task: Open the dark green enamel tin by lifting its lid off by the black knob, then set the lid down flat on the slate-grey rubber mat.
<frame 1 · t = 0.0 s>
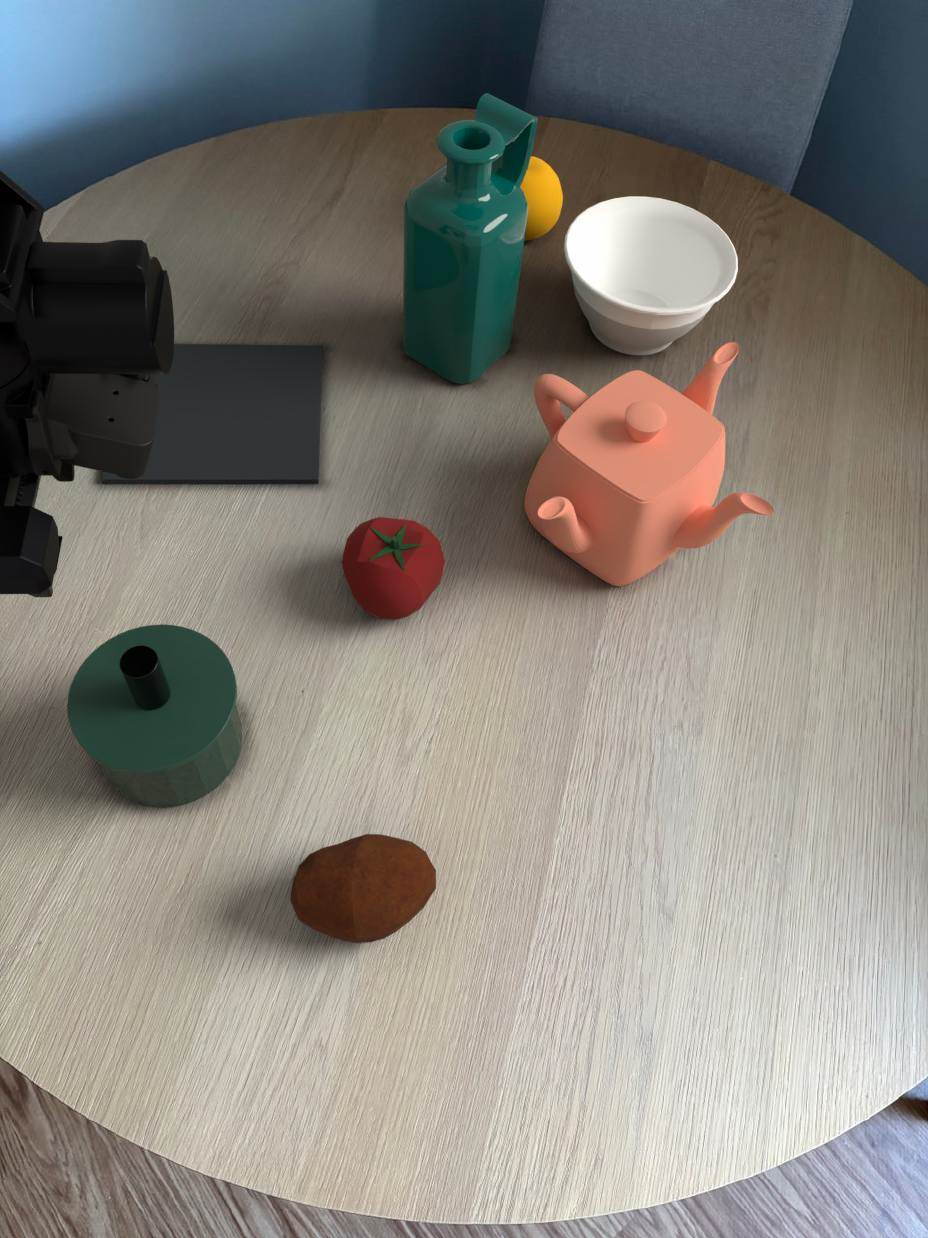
hand: (55, 535, 68), 15 cm above the table, tool pointing down, fingers open, 9 cm apart
mat: (218, 413, 93), on the table
tomato: (390, 592, 84), on the table
tin: (172, 742, 76), on the table
potato: (365, 901, 71), on the table
tin lid: (153, 698, 70), point 7 cm above the table, touching tin
pitcher: (460, 344, 100), on the table
bowl: (632, 324, 103), on the table
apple: (520, 228, 109), on the table
pot: (623, 521, 90), on the table
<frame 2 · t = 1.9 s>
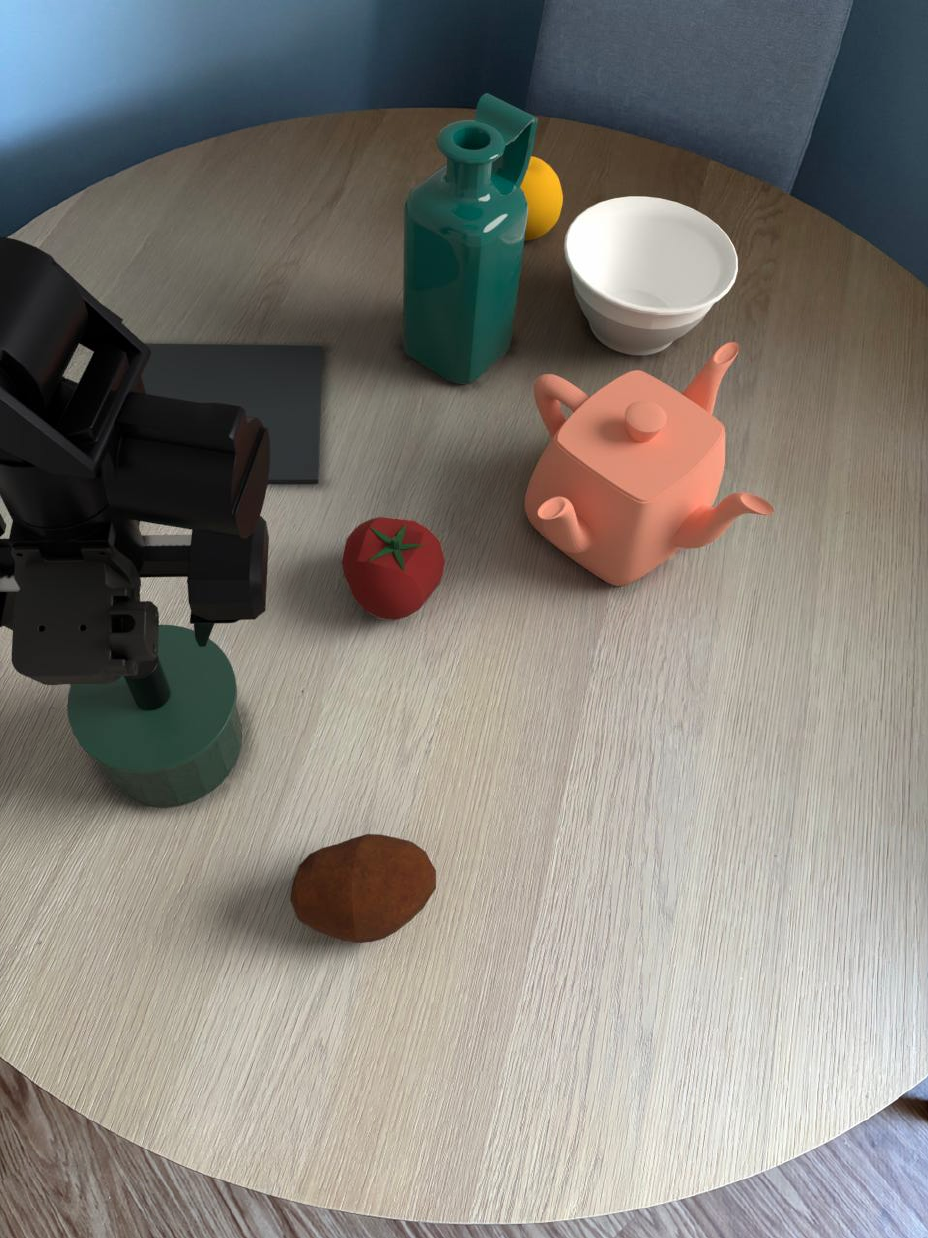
hand: (128, 641, 66), 13 cm above the table, tool pointing down, fingers open, 9 cm apart
nothing on the table moved.
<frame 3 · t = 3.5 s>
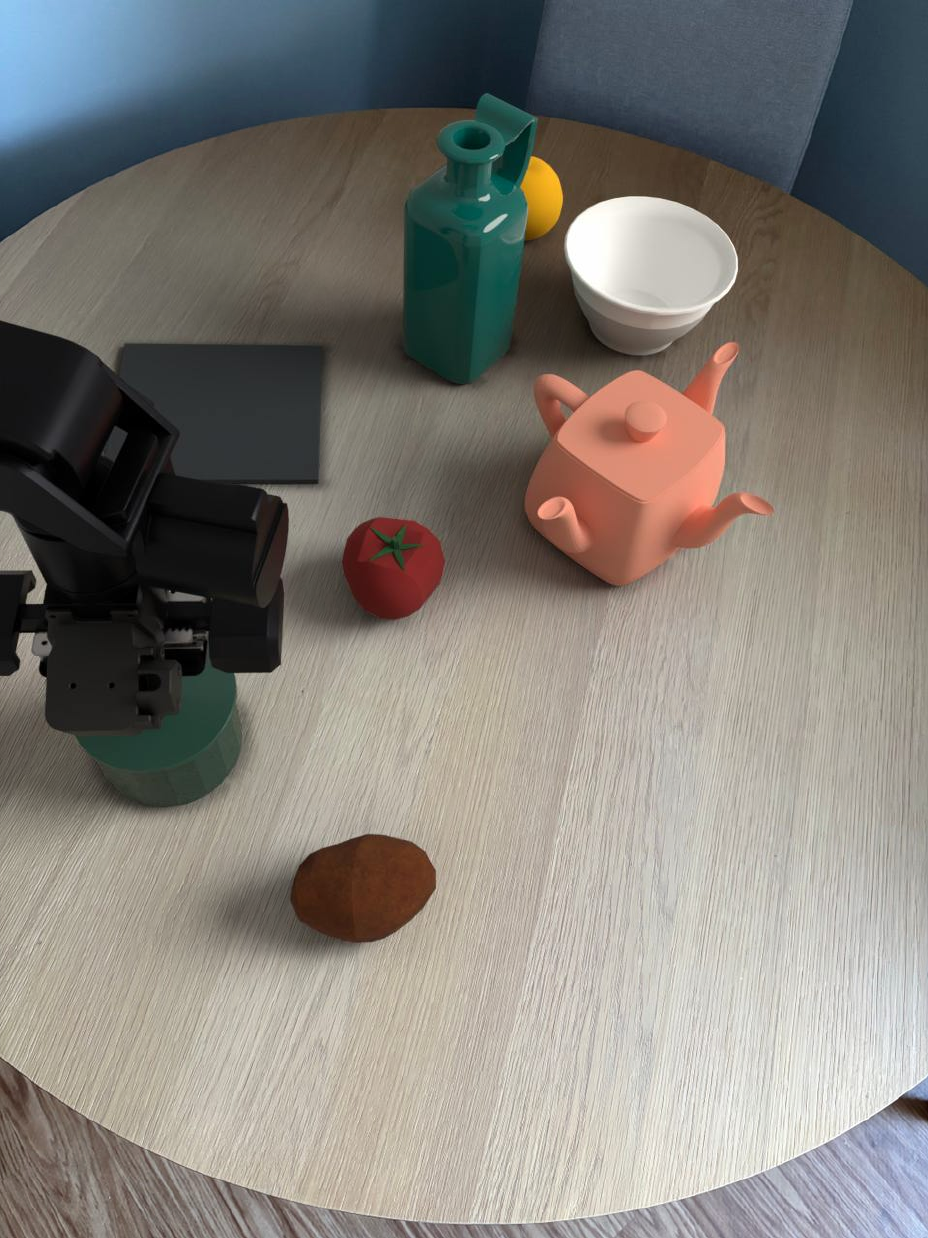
hand: (149, 687, 69), 9 cm above the table, tool pointing down, fingers closed on tin lid, 2 cm apart
tin lid: (153, 698, 70), point 7 cm above the table, touching gripper, tin
everything else where it was.
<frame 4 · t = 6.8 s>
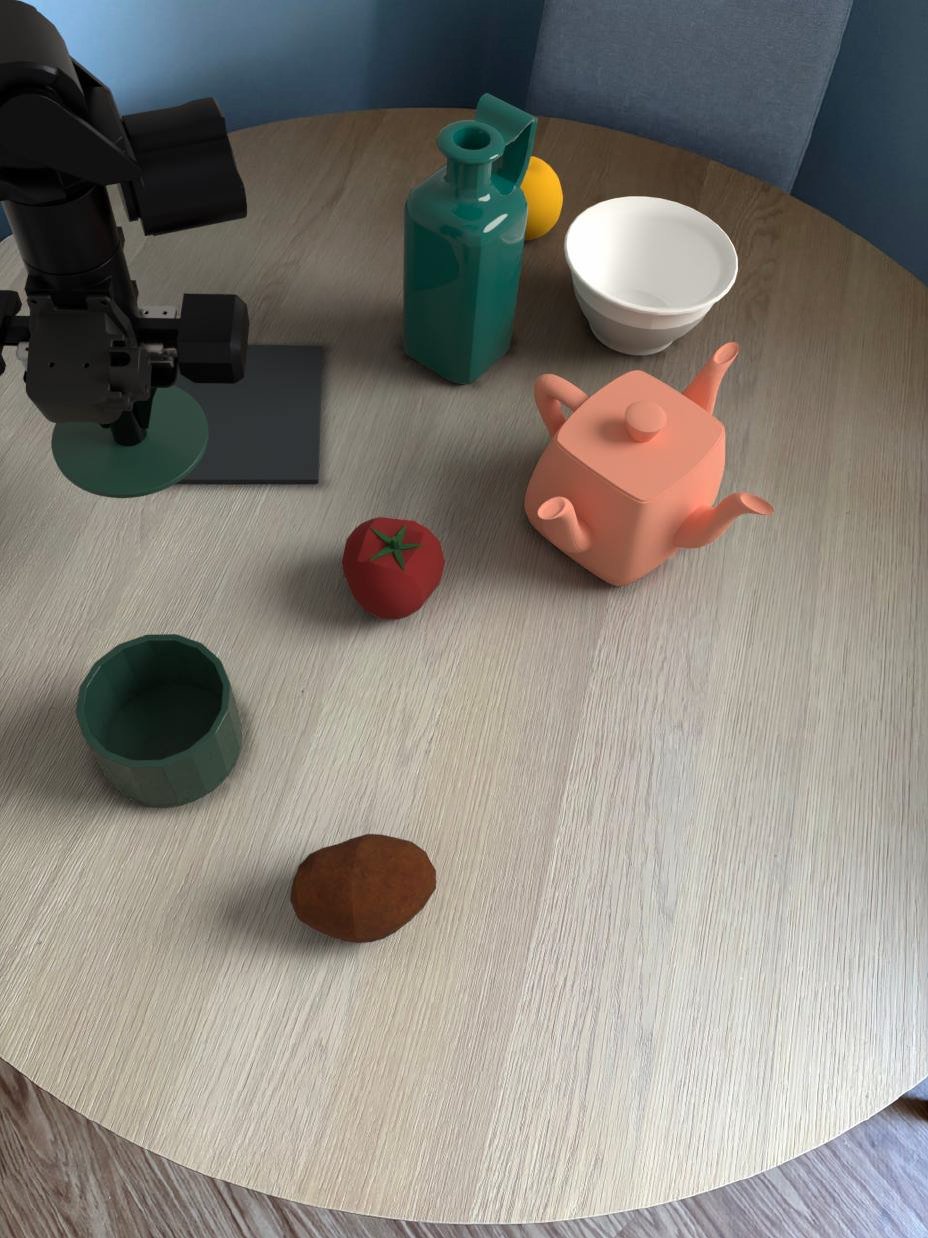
hand: (126, 424, 75), 13 cm above the table, tool pointing down, fingers closed on tin lid, 2 cm apart
tin lid: (131, 438, 76), point 12 cm above the table, touching gripper
everything else where it was.
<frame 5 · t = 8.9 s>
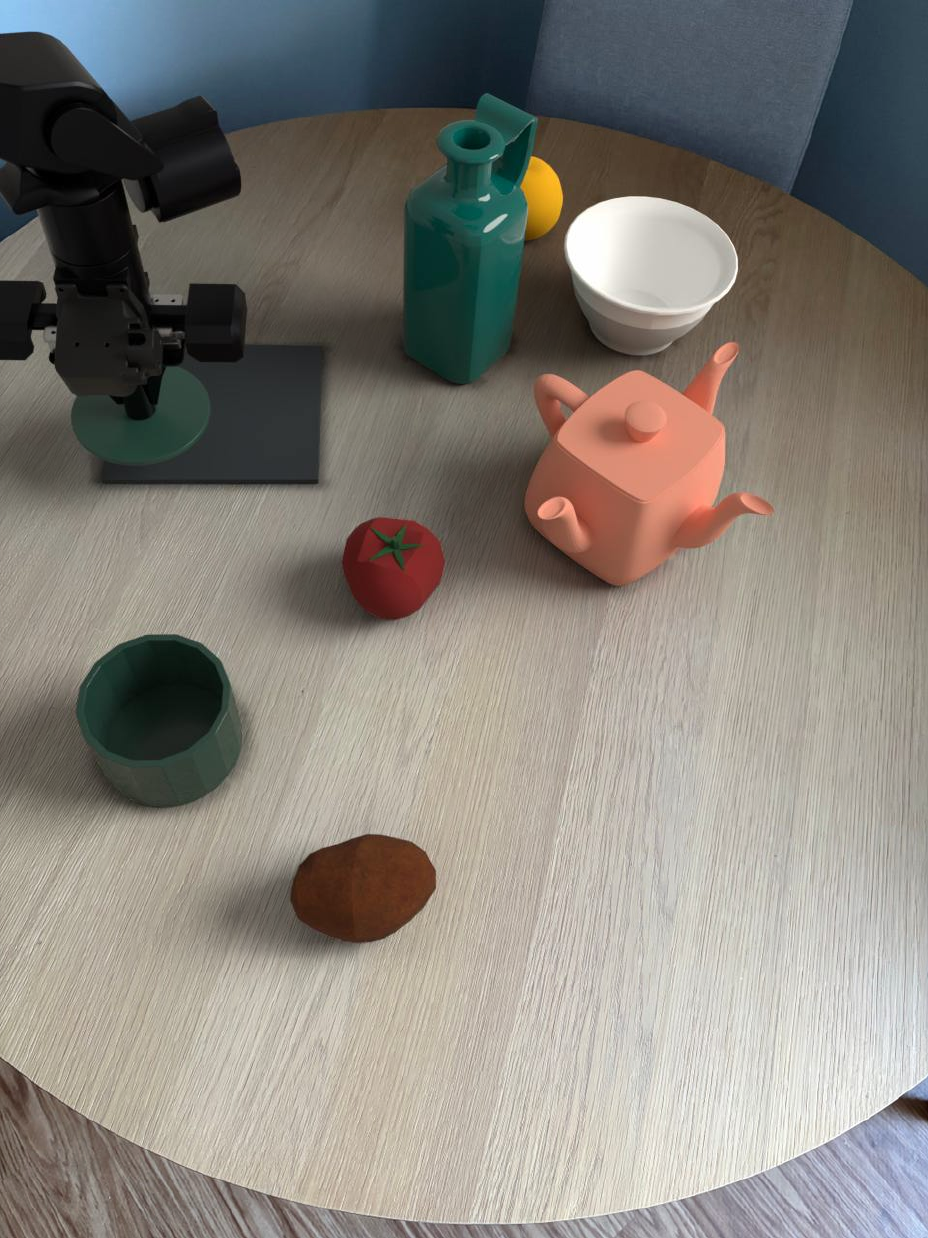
hand: (138, 400, 84), 7 cm above the table, tool pointing down, fingers closed on tin lid, 2 cm apart
tin lid: (142, 413, 85), point 5 cm above the table, touching gripper
everything else where it was.
when the fingers open (3 cm above the table, at t = 10.1 s): tin lid stays where it is, resting on mat.
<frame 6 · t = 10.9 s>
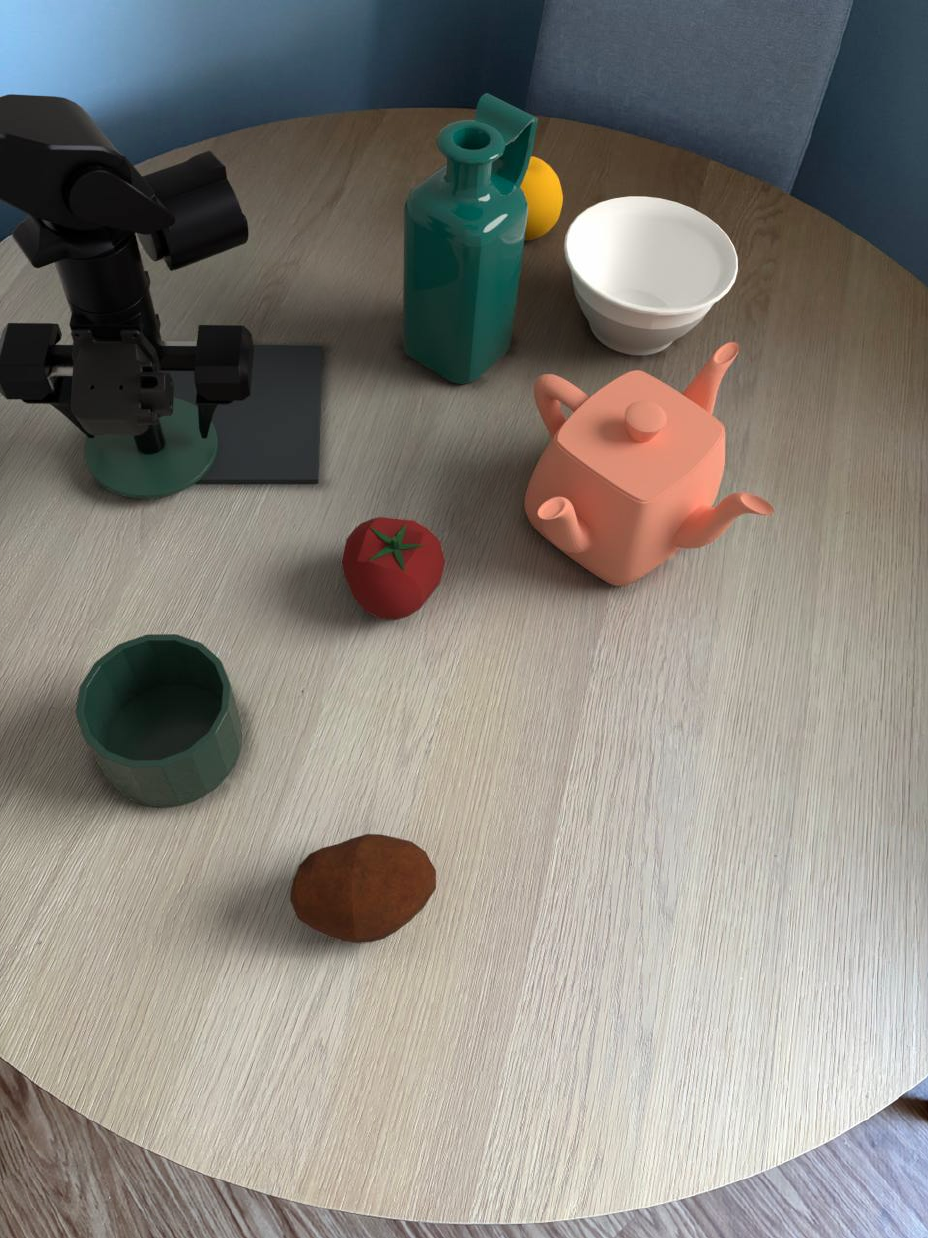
hand: (149, 434, 88), 3 cm above the table, tool pointing down, fingers open, 9 cm apart
tin lid: (152, 447, 89), point 1 cm above the table, touching mat
everything else where it was.
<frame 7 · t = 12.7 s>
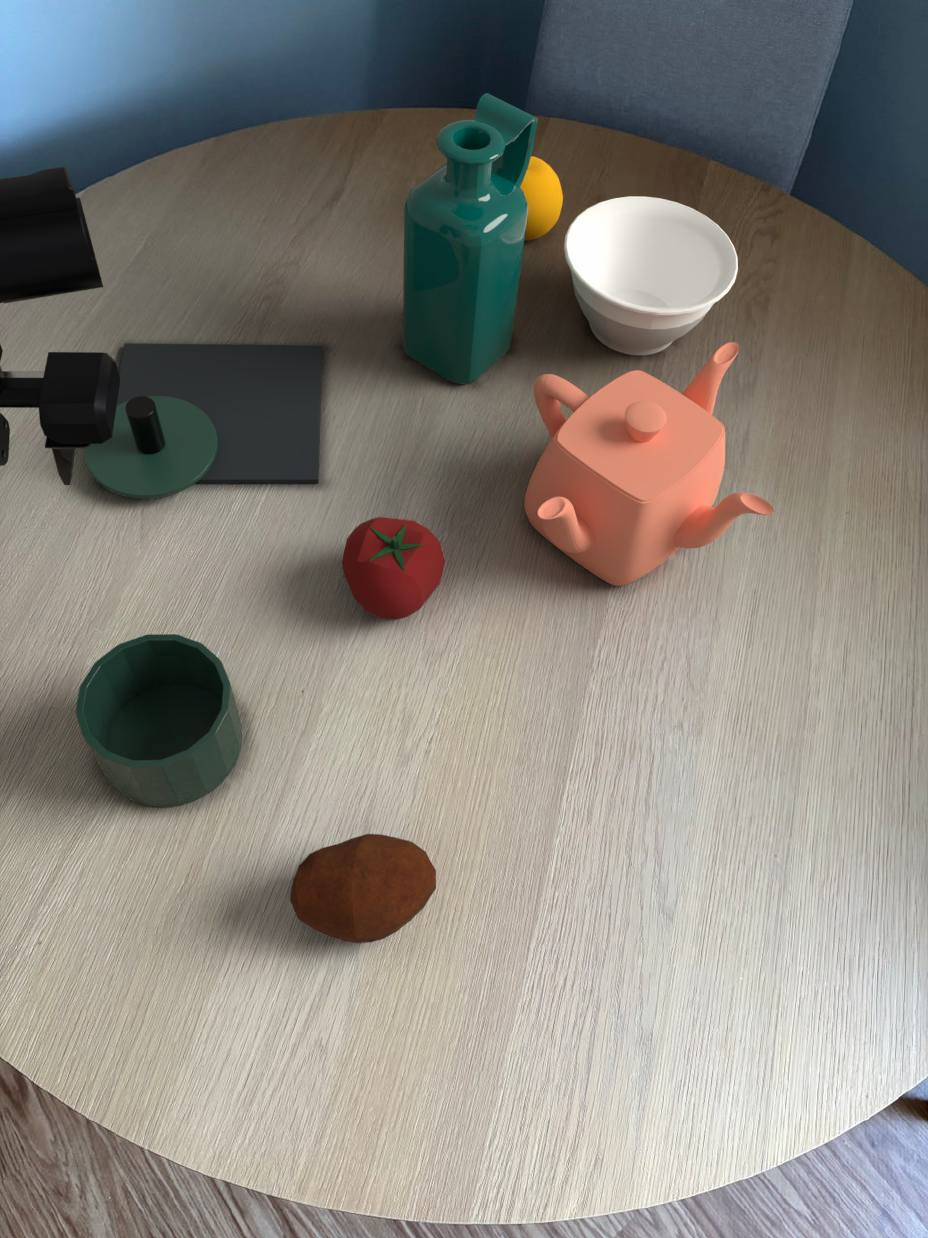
hand: (0, 480, 73), 12 cm above the table, tool pointing down, fingers open, 9 cm apart
nothing on the table moved.
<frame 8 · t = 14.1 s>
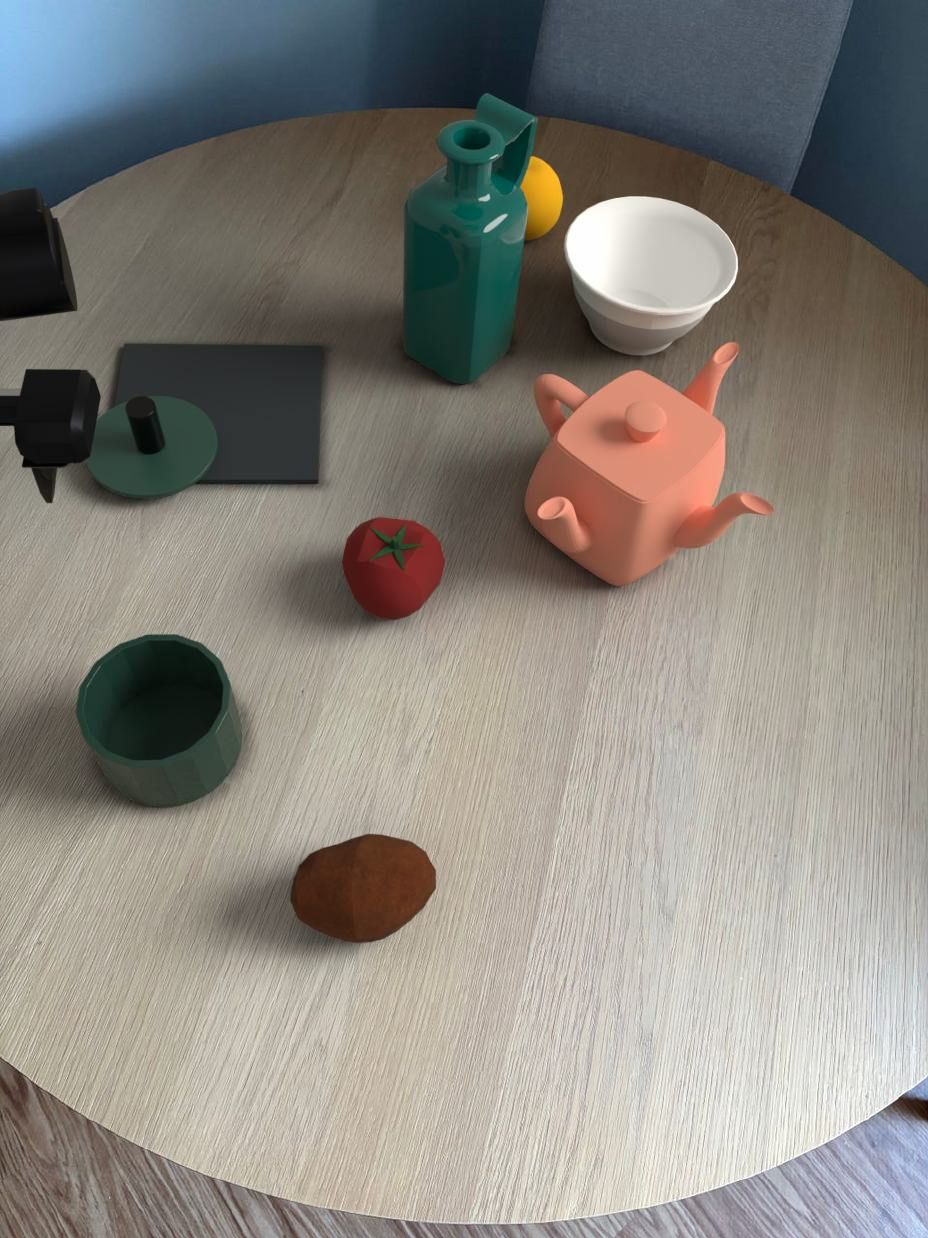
nothing on the table moved.
at the end: tin lid inside the target area on the mat (2.1 cm from its centre), point 1.2 cm above the mat's base; tin lid tilted 0°; the gripper is holding nothing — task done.
